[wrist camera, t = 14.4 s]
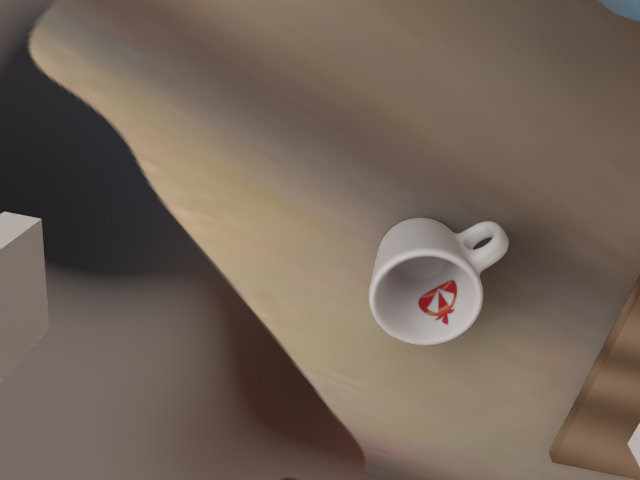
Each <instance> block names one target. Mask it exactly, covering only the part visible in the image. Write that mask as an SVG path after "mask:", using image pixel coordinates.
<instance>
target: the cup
mask: <svg viewBox="0 0 640 480" xmlns="http://www.w3.org/2000/svg"><path fill="white" fill-rule="evenodd" d="M489 237H493V238H492V240H491V241H490V242H489V243H487V244H486V245H485V246H483V247H481V248H478V249H475V250H473V248H474V246H475V245H476V244H477V243H479V242H480V241H482V240H483V239H486V238H489ZM508 246H509V241H508V237H507V235H506V233H505V232H504V230H503V229H502V228H501V227H500V226H499V225H498V224H497V223H494V222H491V221H486V222H481V223H478V224H476V225H474V226H472V227H470V228H468V229H467V230H465V231H463V232H461V233H458V234H457V233H454V232H452V231H451V230H450V229H449V228H448V227H447V226H445V225H444V224H442V223H440V222H438V221H436V220H433V219H429V218H412V219H408V220H405V221H403V222H400V223H399V224H397V225H395V226H394V227H393V228H392V229H390V230H389V231H388V233H387V234H386V235H385V236H384V238H383V240H382V242H381V244H380V246H379V249H378V253H377V258H376V262H375V267H374V271H373V276H372V280H371V285H370V289H369V304H370V308H371V312H372V314H373V316H374V318H375V320H376V322H377V323H378V324H379V325H380V327H381V328H382V329H383V330H384V331H385V332H387V333H388V334H389V335H391V336H392V337H394V338H396V339H398V340H400V341H403V342H406V343H410V344H415V345H435V344H441V343H444V342H447V341H450V340H452V339H454V338H456V337H458V336H460V335H461V334H463V333H464V332H465V331H466V330H468V329H469V328H470V327H471V326H472V324H473V323H474V322H475V320H476V319H477V317H478V315H479V313H480V311H481V308H482V304H483V287H482V283H481V280H480V273H481V272H482V271H483V270H484V269H486V268H488V267H489V266H491V265H493V264H494V263H496V262H497V261H498V260H500V259H501V258H502V257H503V256H504V254H505V253H506V252H507V250H508Z"/></svg>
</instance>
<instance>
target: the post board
mask: <svg viewBox="0 0 640 480" xmlns="http://www.w3.org/2000/svg"><path fill="white" fill-rule="evenodd" d="M639 423H640V276H639V278H638V280H637V282H636V284H635V286H634V288H633V290H632V292H631V294H630V296H629V298H628V300H627V302H626V304H625V305H624V307H623V309H622V311H621V313H620V315H619V317H618V319H617V321H616V323H615V325H614V327H613V329H612V331H611V333H610V335H609V337H608V339H607V341H606V342H605V344H604V346H603V348H602V350H601V352H600V354H599V356H598V358H597V360H596V362H595V364H594V366H593V368H592V370H591V372H590V374H589V376H588V378H587V379H586V381H585V383H584V385H583V387H582V389H581V391H580V393H579V395H578V397H577V399H576V401H575V403H574V405H573V407H572V409H571V411H570V413H569V415H568V417H567V418H566V420H565V422H564V424H563V426H562V428H561V430H560V432H559V434H558V436H557V438H556V440H555V442H554V444H553V446H552V448H551V450H550V452H549V454H550V457H551V459H552V462H554V463H559V464H564V465H569V466H574V467H579V468H584V469H589V470H594V471H599V472H603V473H608V474H613V475H618V476H623V477H628V478H633V479H638V480H640V467H639V465H638V463H637V461H636V459H635V457H634V455H633V454H632V452H631V450H630V448H629V446H628V444H627V443H628V442H629V440H630V438H631V437H632V435H633V433H634V432H635V430H636V428H637V427H638V425H639Z"/></svg>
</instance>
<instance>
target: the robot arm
mask: <svg viewBox="0 0 640 480" xmlns="http://www.w3.org/2000/svg"><path fill="white" fill-rule="evenodd" d="M598 1H599V2H600V3H601V4H603V5H604V6H605V7H606V8H608V9H609V10H610V11H612V12H613V13H615V14H617V15H619V16H621V17H625V18H628V19H631V20H634V21H637V22H640V0H598ZM48 330H49V322H48V306H47V293H46V278H45V264H44V249H43V235H42V221H41V219H39V218H33V217H29V216H23V215H18V214H13V213H8V212H3V213H2V214H0V382H1V381H2V380H3V379H4V378H5V377H6V376H7V374H8V373H9V372H10V371H11V370H12V369H13V368H14V367H15V366H16V364H18V363H19V361H20V360H21V359H22V358H23V357H24V356H25V355H26V354H27V353H28V352H29V350H30V349H31V348H32V347H33V346H34V345H35V344H36V343H37V342H38V341H39V340H40V338H41V337H42V336H43V335H44V334H45V333H46V332H47V331H48ZM627 444H628V446H629V448H630V450H631V452H632V454H633V455H634V457H635V459H636V461H637V463H638V465H639V467H640V423H639V425H638V427H637V428H636V430H635V432H634V433H633V435H632V437H631V438H630V440H629V442H628V443H627Z"/></svg>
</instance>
